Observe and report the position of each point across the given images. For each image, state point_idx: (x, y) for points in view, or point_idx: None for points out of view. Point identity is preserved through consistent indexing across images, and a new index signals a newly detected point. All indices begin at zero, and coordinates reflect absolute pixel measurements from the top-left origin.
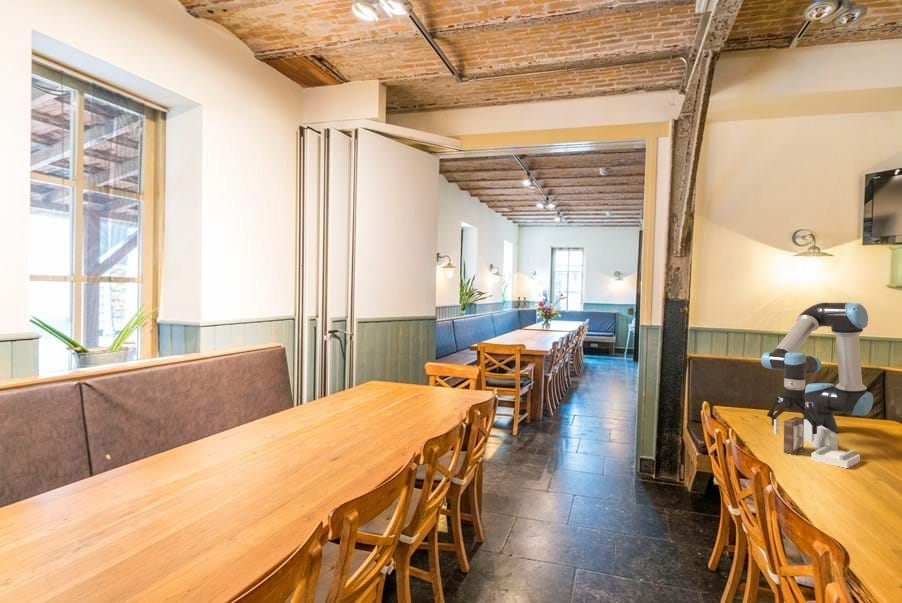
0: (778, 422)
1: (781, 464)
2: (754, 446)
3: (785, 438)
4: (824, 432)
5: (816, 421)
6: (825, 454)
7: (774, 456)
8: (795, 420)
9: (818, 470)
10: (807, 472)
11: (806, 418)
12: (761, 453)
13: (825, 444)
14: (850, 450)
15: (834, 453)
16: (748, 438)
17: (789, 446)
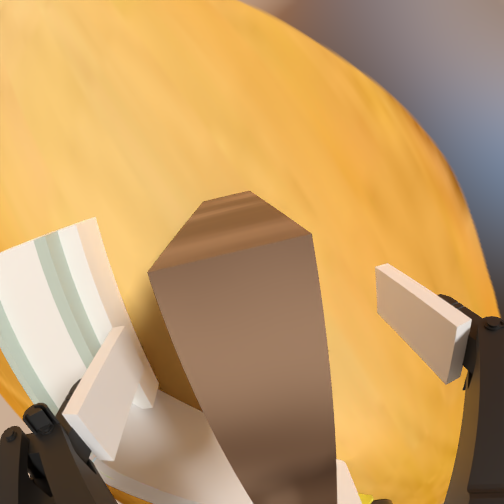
0: (426, 360)
1: (125, 4)
2: (401, 156)
3: (246, 201)
4: (165, 482)
5: (13, 460)
6: (43, 279)
7: (226, 72)
8: (230, 434)
9: (9, 106)
10: (23, 40)
11: (85, 488)
12: (297, 58)
13: (159, 425)
14: (39, 401)
15: (53, 342)
16: (471, 268)
17: (214, 203)
